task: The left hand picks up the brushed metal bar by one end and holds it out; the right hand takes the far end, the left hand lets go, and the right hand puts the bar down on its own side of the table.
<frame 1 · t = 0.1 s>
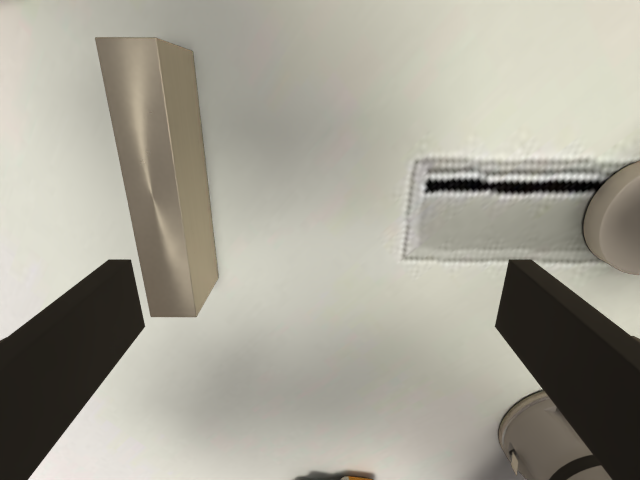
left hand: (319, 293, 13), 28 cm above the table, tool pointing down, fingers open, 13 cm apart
bar: (186, 177, 39), on the table
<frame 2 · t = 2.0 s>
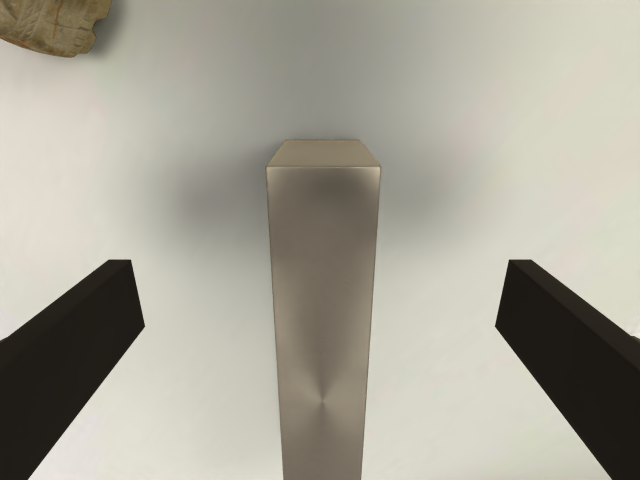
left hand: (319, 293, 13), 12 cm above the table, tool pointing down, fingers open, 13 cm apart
bar: (322, 310, 27), on the table
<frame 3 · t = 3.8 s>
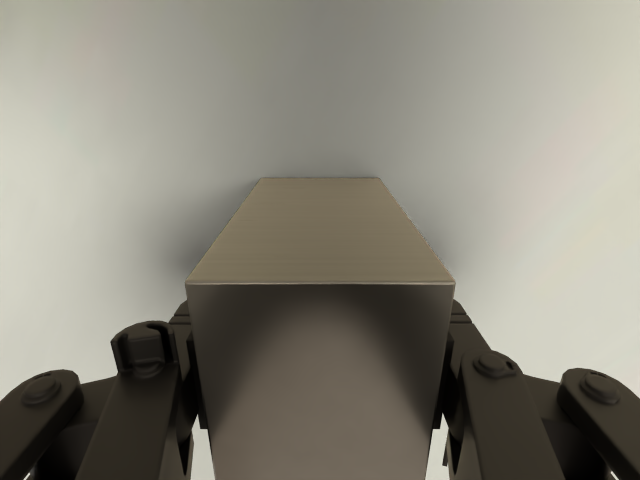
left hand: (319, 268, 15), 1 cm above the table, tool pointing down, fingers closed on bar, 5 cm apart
bar: (320, 417, 18), on the table, touching left hand
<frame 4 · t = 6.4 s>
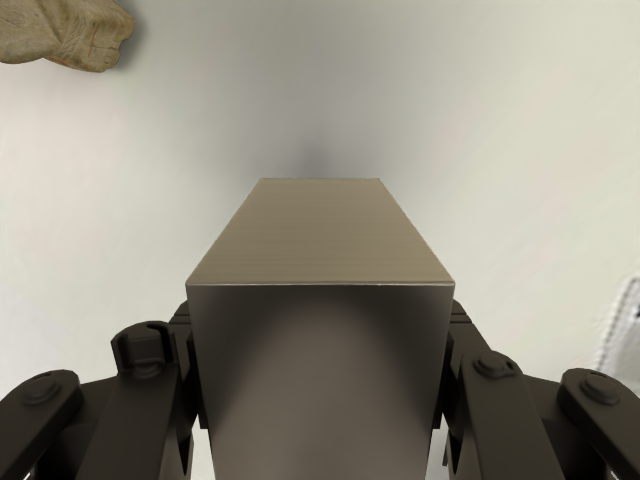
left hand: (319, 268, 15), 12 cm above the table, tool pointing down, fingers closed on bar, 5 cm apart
bar: (320, 417, 18), point 12 cm above the table, touching left hand
sculpture: (87, 17, 22), on the table
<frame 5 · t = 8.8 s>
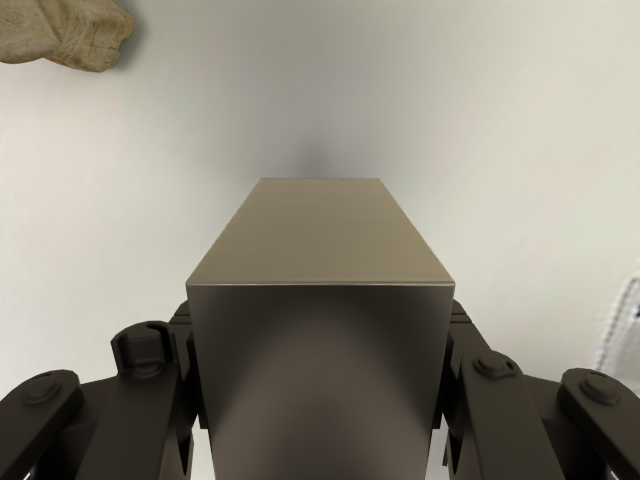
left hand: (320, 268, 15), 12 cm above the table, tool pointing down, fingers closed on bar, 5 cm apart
bar: (319, 417, 18), point 12 cm above the table, touching left hand, right hand
sculpture: (87, 16, 22), on the table
when the left hand's fingers open (12 cm above the table, at t = 9.3 s): bar stays where it is, held by the right hand.
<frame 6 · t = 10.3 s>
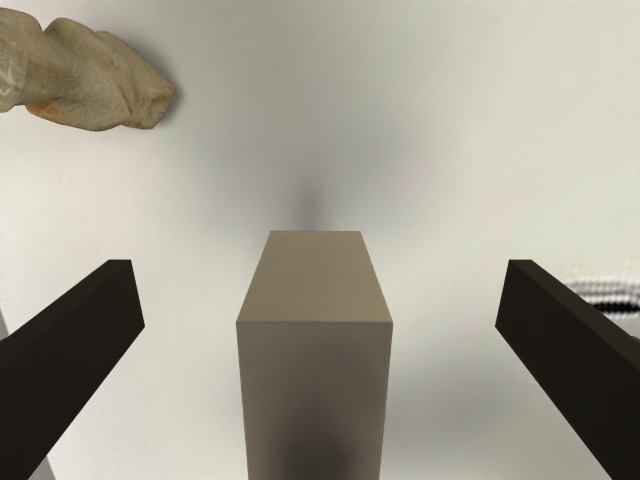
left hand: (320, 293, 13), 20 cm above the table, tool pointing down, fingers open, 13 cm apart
bar: (314, 417, 23), point 14 cm above the table, touching right hand
sculpture: (138, 84, 29), on the table
when the right hand's fingers open (2 cm above the table, at t = 13.5 s): bar drops 2 cm, on the table.
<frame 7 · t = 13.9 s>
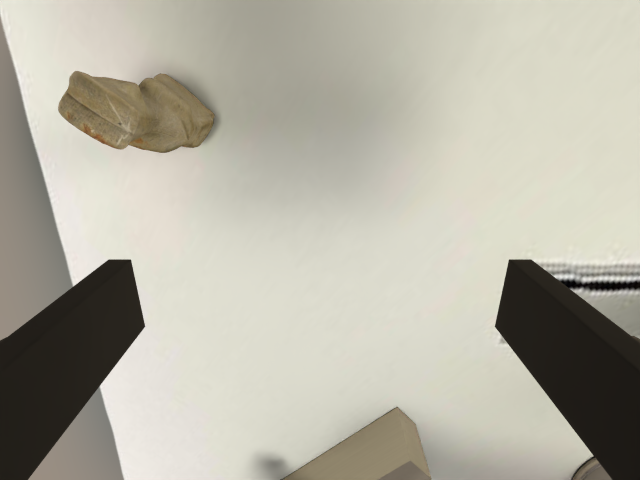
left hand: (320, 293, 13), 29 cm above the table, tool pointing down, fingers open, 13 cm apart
bar: (343, 454, 57), on the table
sculpture: (185, 111, 38), on the table
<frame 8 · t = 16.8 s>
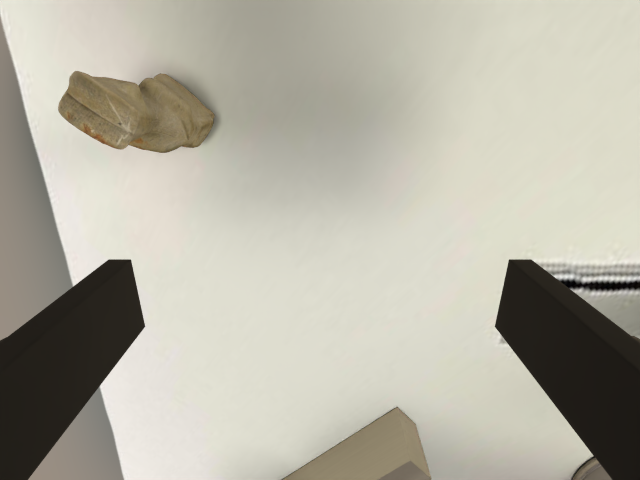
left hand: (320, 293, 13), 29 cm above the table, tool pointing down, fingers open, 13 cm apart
bar: (343, 454, 57), on the table
sculpture: (185, 111, 38), on the table
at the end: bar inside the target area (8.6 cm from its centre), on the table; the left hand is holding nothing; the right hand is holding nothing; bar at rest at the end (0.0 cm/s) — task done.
